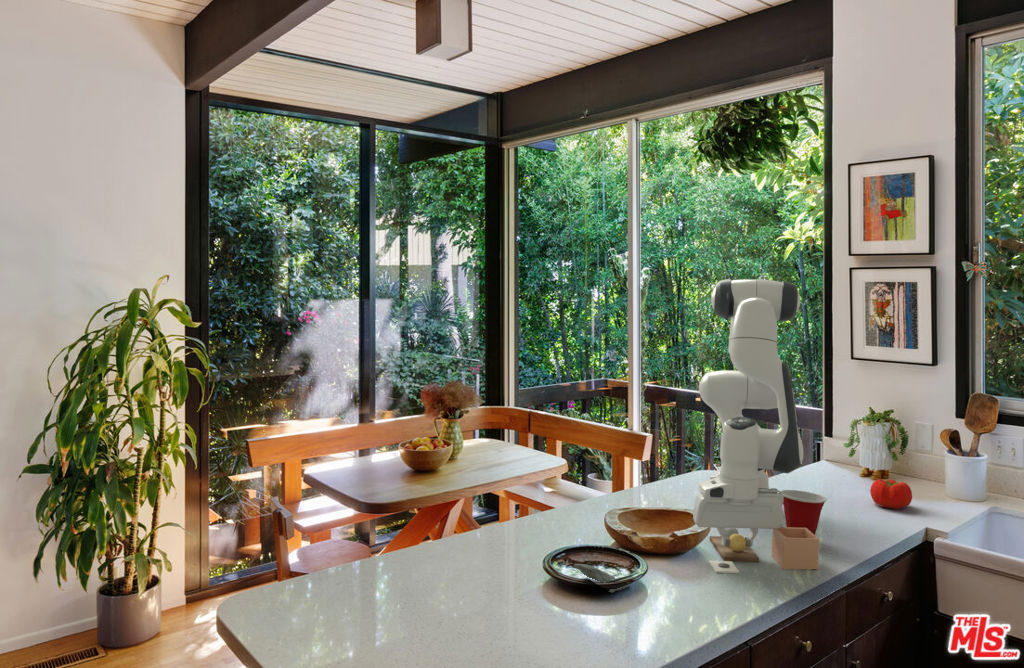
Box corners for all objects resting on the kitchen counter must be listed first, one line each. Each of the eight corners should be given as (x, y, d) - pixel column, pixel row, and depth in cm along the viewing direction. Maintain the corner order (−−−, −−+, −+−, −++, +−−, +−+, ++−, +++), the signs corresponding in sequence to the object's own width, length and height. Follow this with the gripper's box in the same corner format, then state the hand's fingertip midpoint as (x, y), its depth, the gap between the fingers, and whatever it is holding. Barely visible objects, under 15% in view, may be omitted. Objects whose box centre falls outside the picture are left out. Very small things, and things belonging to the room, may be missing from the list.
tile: (709, 562, 163) (709, 559, 163) (731, 563, 163) (731, 560, 163) (715, 572, 157) (716, 570, 157) (738, 573, 157) (738, 570, 157)
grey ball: (719, 539, 176) (720, 523, 175) (736, 539, 175) (736, 523, 175) (723, 544, 172) (724, 528, 171) (740, 545, 171) (741, 528, 171)
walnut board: (709, 540, 178) (709, 536, 178) (741, 540, 177) (742, 536, 177) (723, 561, 164) (723, 556, 164) (759, 562, 163) (759, 557, 163)
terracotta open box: (771, 556, 167) (772, 527, 167) (805, 557, 167) (806, 527, 166) (783, 569, 159) (784, 538, 159) (818, 569, 159) (819, 539, 159)
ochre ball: (726, 547, 170) (726, 531, 169) (743, 548, 169) (743, 531, 169) (730, 553, 166) (731, 537, 165) (747, 554, 166) (748, 537, 165)
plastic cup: (835, 545, 175) (837, 497, 174) (802, 551, 171) (804, 502, 170) (800, 531, 185) (802, 485, 184) (768, 536, 181) (770, 490, 180)
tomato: (918, 507, 207) (919, 482, 207) (898, 514, 201) (899, 488, 200) (881, 498, 216) (883, 474, 215) (862, 504, 210) (863, 479, 209)
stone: (594, 576, 157) (563, 573, 151) (599, 558, 158) (568, 555, 152) (629, 597, 149) (598, 595, 143) (635, 578, 149) (603, 575, 143)
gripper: (779, 484, 169) (777, 541, 170) (692, 483, 170) (690, 539, 171) (788, 492, 163) (786, 551, 164) (698, 490, 164) (696, 549, 165)
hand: (736, 545), depth 168 cm, fingers closed on ochre ball, 4 cm apart
